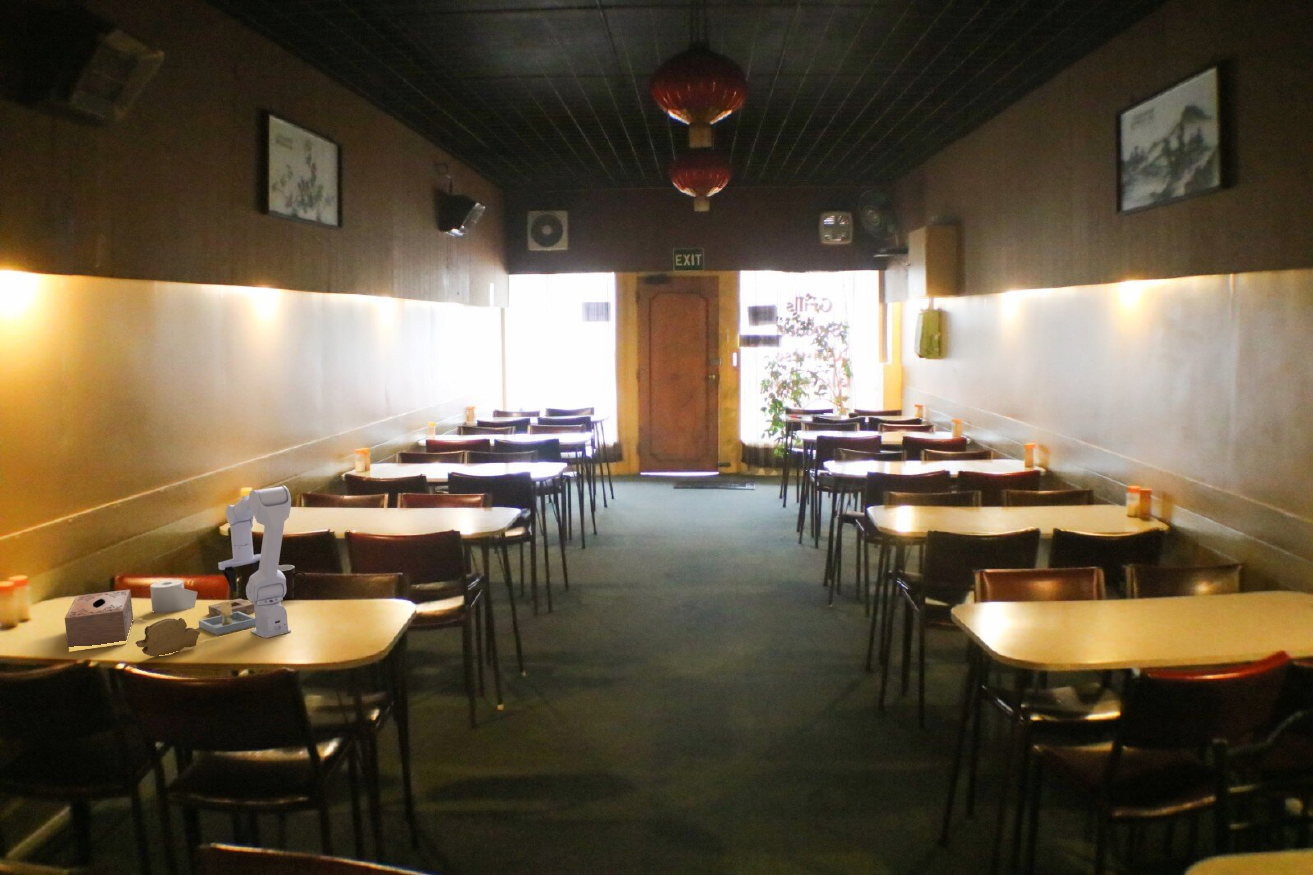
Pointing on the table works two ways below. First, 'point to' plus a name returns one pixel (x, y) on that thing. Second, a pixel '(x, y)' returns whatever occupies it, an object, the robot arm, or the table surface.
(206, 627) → the tray
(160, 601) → the toilet tissue
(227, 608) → the brass pin
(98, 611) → the tissue box cover
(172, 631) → the wooden carving
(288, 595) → the coffee mug
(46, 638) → the table surface
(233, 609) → the socket block
